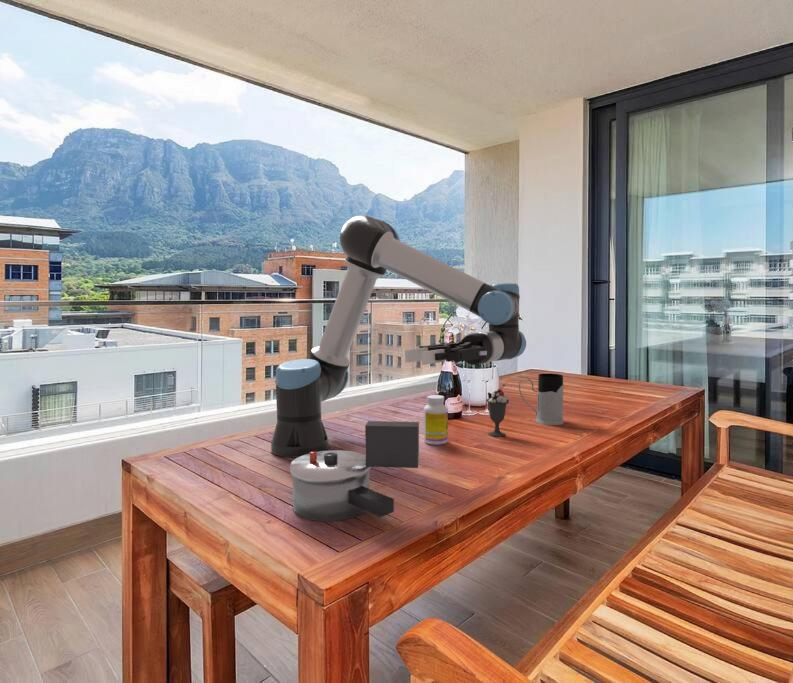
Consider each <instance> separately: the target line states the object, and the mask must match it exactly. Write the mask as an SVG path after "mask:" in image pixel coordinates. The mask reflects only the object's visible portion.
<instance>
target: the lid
mask: <svg viewBox="0 0 793 683" xmlns="http://www.w3.org/2000/svg"><path fill="white" fill-rule="evenodd" d="M364 430H365V432H364V435H365V440H364V441H365V454H363V453H360V452H357V451H350V450H342V449H341V450H340V449H339V450H338V449H337V450H335V449H334V450H326V451H320V452H316V451H311V452H310V454H306V455H303V456H300V457H295V458H294V460H292V461H291V463H290V468H289V470H290V474H291V477H292V476H293V477H295V478H296V479H298V480H301V481H305V482H310V483H321V484H328V483H340V482H346V481H351V480H354V479H358V478H360V477H362V476H364V475H366V474H367V473H368V472H369V473H370V471H371V470H372V468H398V469H399V468H403V469H406V468H407V469H419V464H420V422H419V421H390V420H387V421H385V420H384V421H383V420H379V421H377V420H368V421H367V422H366V424H365V428H364Z"/></svg>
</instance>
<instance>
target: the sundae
mask: <svg viewBox="0 0 793 683" xmlns="http://www.w3.org/2000/svg"><path fill="white" fill-rule="evenodd" d="M504 387H506V385H505V384H503V385H502V386H500V387H499V388H498V389H497V390H495V391H493V392H492V393H491V392H487V397H488V398H486V400H485V401H486V402H487V405H488V412H489V413H488V415H489V419H490V420H491V421H492V422H493V423H494V430H493V431H490V432H488V435H489V436H490V437H493V438H494V437H495V438H501V437H502V438H503V437H505V436H506V433H505V432H502V431H501V430H500V423H502V422H503V420H504V419H505V416H506V409H507V404H509V402H510V400H509V399H508V398H507V397H506V396H505V392H503V389H504Z"/></svg>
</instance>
